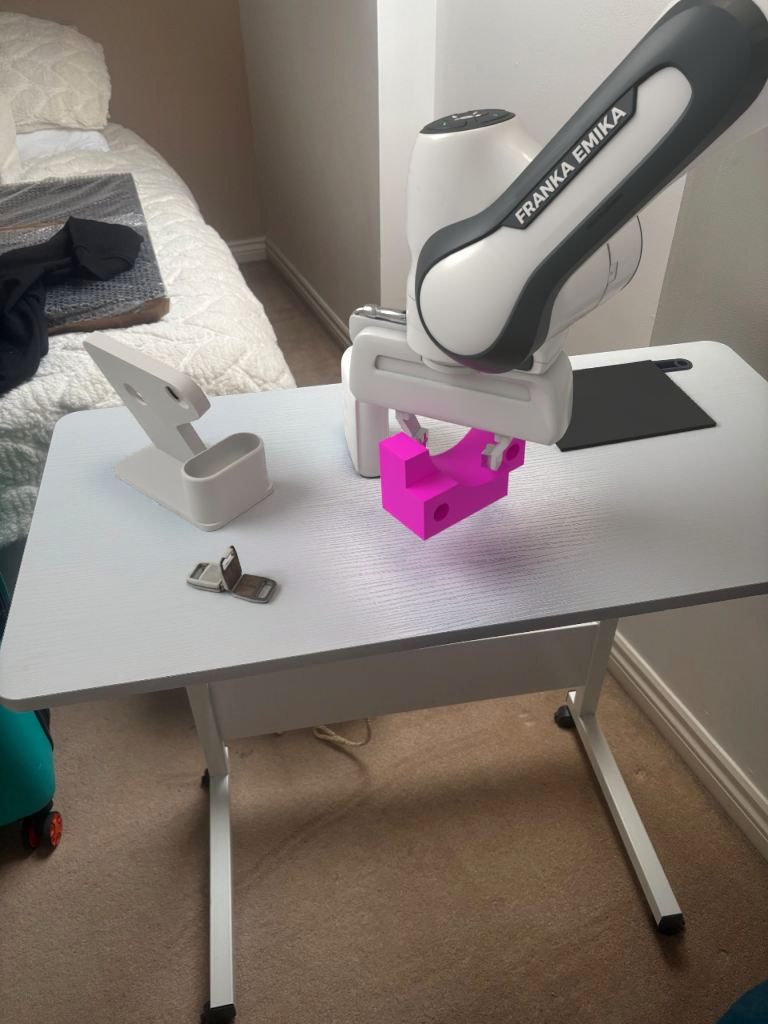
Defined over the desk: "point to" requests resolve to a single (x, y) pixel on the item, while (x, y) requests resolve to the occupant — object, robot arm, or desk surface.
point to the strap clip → (229, 578)
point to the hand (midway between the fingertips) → (454, 456)
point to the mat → (628, 406)
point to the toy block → (442, 480)
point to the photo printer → (362, 426)
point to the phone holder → (180, 441)
